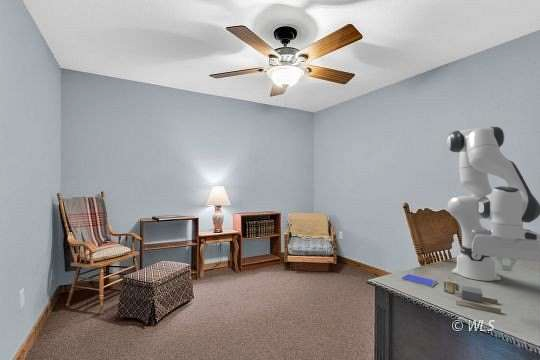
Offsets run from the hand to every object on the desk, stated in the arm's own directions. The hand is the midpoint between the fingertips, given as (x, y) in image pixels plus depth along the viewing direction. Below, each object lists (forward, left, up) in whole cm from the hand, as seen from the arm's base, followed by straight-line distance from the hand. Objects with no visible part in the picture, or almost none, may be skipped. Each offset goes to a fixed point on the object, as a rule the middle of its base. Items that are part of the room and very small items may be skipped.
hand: (506, 270), depth 99 cm
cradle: (-2, -11, -14) cm, 18 cm away
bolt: (-13, -17, -14) cm, 26 cm away
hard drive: (-14, -29, -15) cm, 35 cm away
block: (0, -10, -14) cm, 17 cm away
